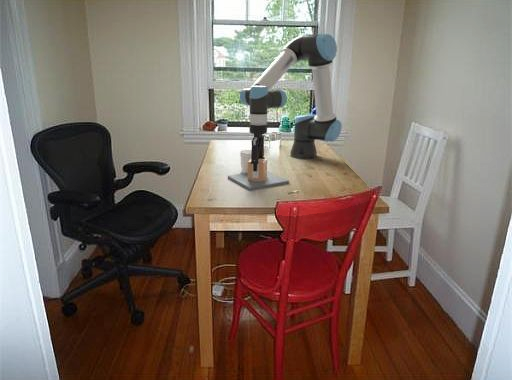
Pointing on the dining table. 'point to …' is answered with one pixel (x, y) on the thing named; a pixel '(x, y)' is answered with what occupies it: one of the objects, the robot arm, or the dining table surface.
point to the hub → (258, 181)
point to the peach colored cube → (262, 170)
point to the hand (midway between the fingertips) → (257, 175)
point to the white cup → (245, 159)
